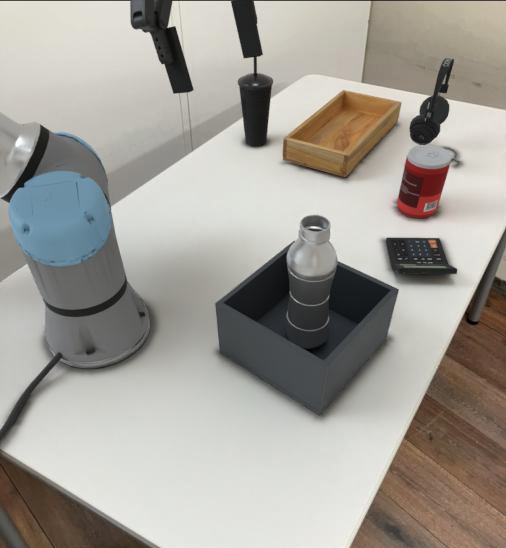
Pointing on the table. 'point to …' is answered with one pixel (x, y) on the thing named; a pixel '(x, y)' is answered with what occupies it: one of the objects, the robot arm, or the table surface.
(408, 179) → the canned food
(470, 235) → the table surface
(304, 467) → the table surface
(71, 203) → the robot arm
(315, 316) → the plastic bottle
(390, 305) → the bin
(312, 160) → the tray
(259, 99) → the drinking cup
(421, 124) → the headphones
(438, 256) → the calculator
